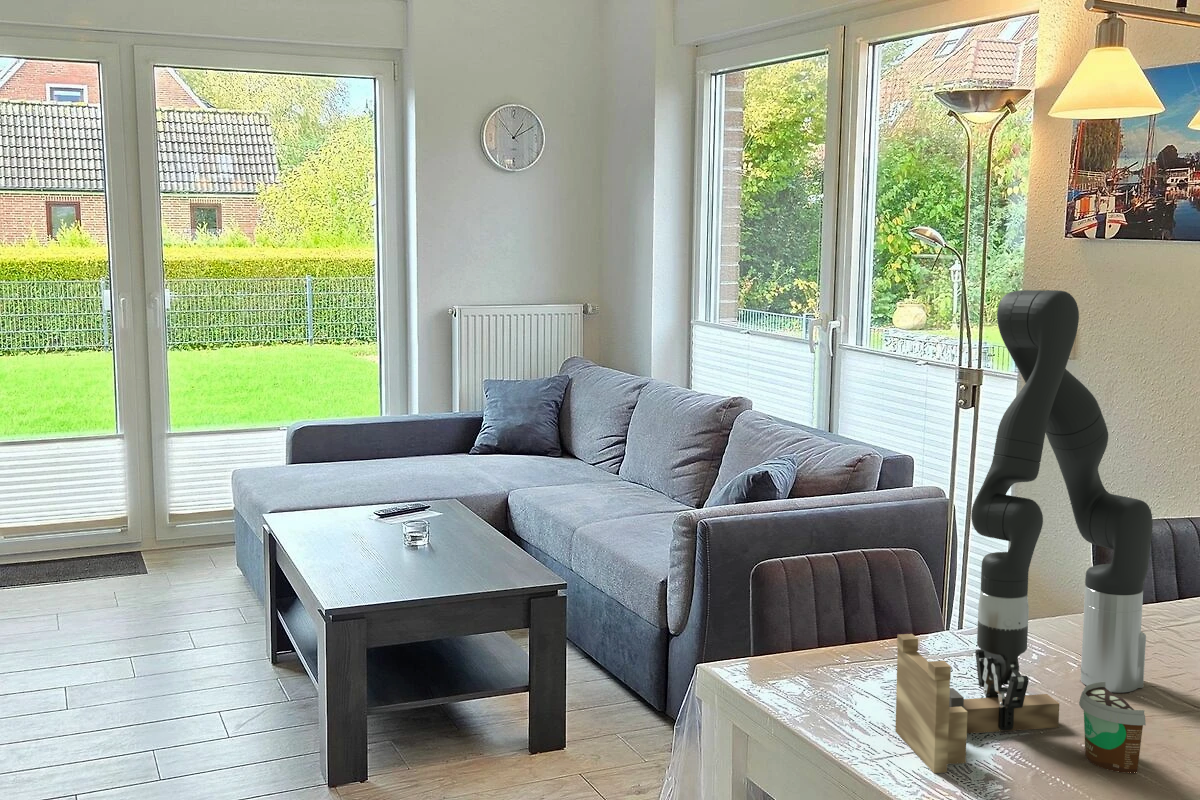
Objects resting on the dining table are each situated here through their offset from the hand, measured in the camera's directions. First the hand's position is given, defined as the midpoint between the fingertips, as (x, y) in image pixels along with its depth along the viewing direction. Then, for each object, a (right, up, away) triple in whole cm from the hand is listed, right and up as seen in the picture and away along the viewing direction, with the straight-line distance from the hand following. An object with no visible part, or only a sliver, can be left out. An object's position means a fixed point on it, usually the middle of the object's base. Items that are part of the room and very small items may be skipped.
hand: (998, 722), depth 192 cm
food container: (+11, -2, -13) cm, 17 cm away
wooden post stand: (-13, -2, -9) cm, 16 cm away
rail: (0, 0, 0) cm, 1 cm away
